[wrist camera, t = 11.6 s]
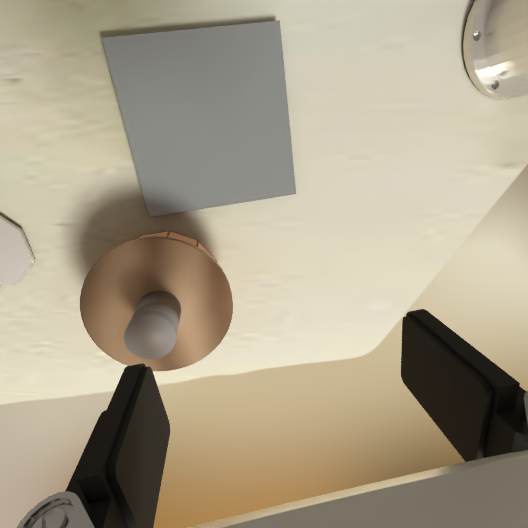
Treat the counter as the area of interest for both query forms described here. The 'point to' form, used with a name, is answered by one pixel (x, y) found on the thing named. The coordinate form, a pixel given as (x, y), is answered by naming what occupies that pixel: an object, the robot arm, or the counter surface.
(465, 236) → the counter surface
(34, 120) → the counter surface
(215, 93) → the mat
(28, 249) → the wineglass
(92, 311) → the lid
